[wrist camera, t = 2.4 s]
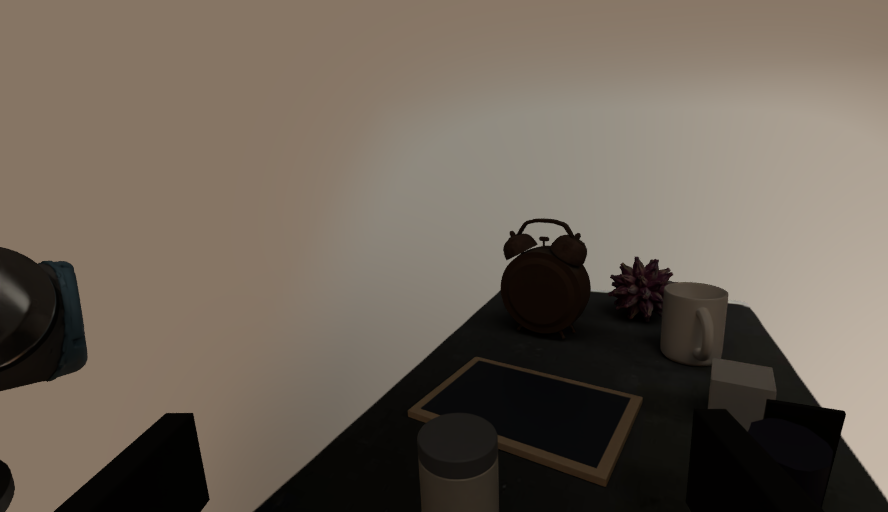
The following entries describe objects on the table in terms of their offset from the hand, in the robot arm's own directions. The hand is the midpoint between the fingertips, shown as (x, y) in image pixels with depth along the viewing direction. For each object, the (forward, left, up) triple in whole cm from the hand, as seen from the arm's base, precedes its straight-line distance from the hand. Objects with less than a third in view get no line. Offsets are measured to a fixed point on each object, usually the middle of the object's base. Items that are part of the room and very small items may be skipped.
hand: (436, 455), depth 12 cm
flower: (-9, +77, -25) cm, 82 cm away
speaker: (+11, +34, -25) cm, 44 cm away
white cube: (+7, +49, -25) cm, 56 cm away
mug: (+1, +63, -25) cm, 68 cm away
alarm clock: (-22, +63, -25) cm, 72 cm away
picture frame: (-15, +39, -25) cm, 49 cm away
